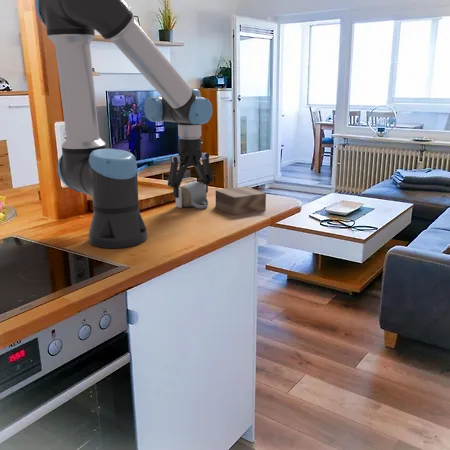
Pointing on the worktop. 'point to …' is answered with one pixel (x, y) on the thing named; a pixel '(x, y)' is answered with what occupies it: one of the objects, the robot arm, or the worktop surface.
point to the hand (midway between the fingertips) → (191, 204)
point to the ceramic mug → (194, 195)
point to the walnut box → (240, 200)
